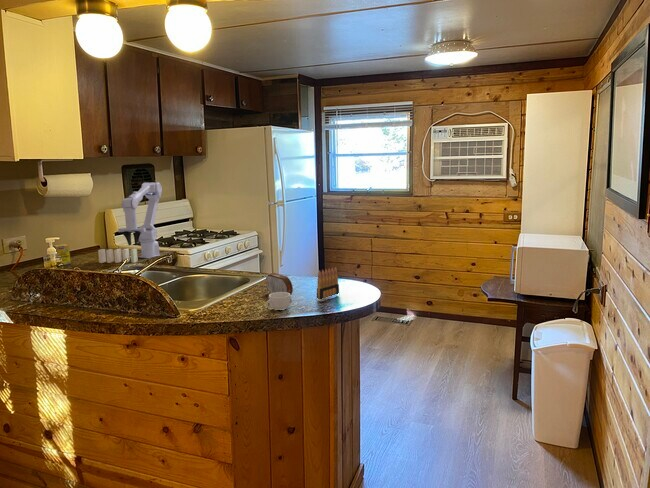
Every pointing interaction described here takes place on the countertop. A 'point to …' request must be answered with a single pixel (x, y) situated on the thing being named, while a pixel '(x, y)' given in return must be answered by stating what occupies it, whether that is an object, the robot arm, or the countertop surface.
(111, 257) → the domino
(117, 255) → the domino
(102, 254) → the domino
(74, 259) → the countertop surface
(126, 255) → the domino
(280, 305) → the teacup
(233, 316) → the countertop surface
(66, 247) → the supplement box
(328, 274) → the ammunition clip
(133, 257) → the domino
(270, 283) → the grey brown rounded slab
